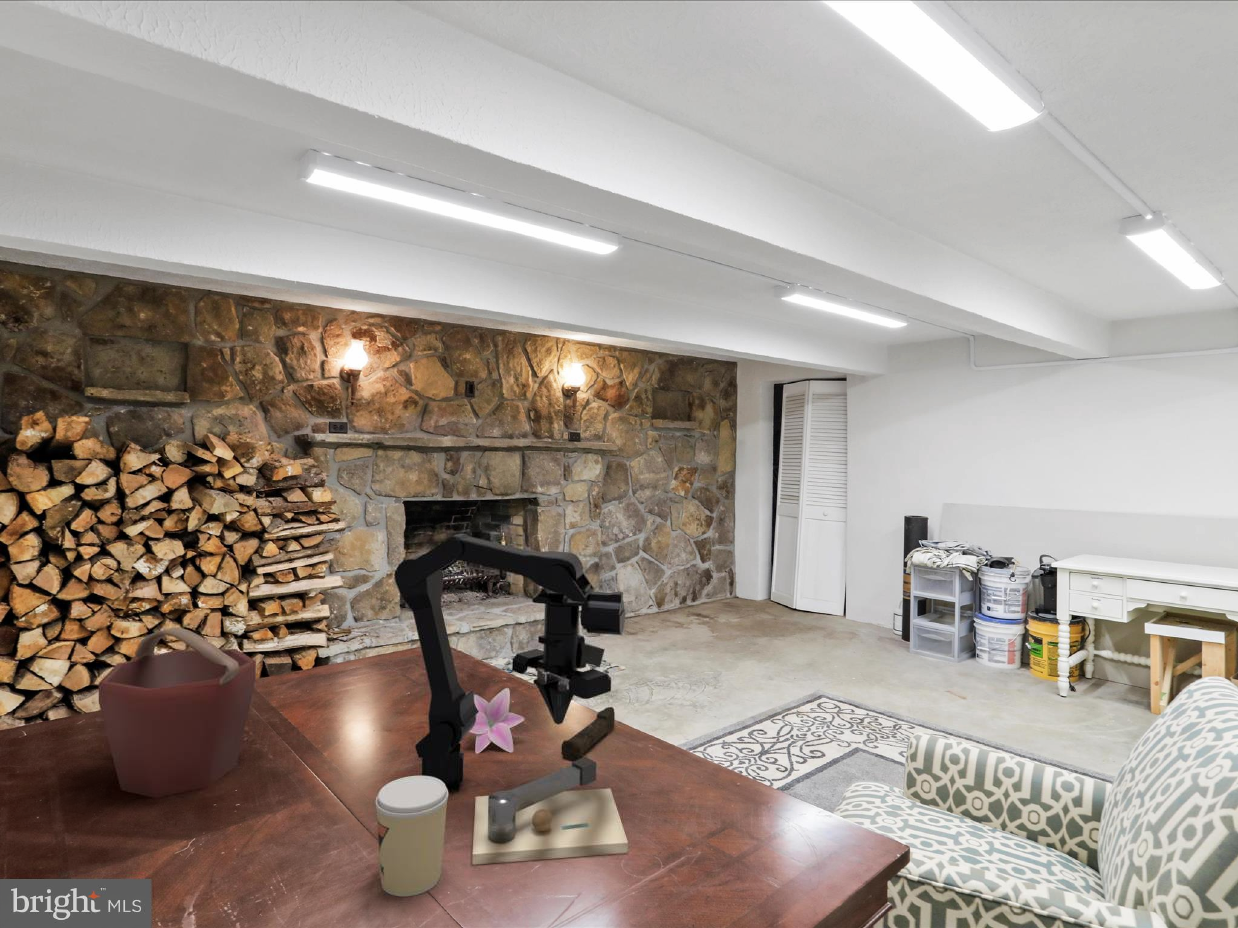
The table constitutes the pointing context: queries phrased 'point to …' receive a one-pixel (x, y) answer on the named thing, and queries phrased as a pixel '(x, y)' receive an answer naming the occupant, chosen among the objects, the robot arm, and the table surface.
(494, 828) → the lever
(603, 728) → the wooden log
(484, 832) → the board
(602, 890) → the table surface
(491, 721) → the lily
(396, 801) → the lidded canister
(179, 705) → the bucket
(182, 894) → the table surface
